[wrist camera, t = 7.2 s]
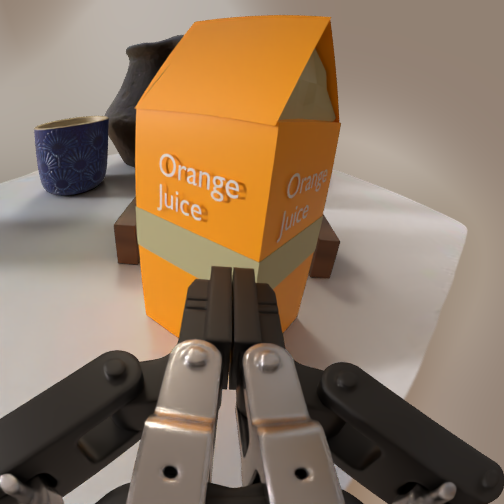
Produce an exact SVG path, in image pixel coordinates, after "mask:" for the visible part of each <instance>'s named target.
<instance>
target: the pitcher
mask: <svg viewBox="0 0 504 504" xmlns="http://www.w3.org/2000/svg"><path fill="white" fill-rule="evenodd" d="M183 36H184V35H177V36H174V37H171V38H169V39H166V40H163V41H159V42H155V43H141V44H137V45H133V46H129V47H128V48H127V49H126V54H127V55H128V57H129V60H130V63H129V68H128V72H127V74H126V77H125V79H124V82H123V84H122V86H121V89H120V91H119V92H118V94H117V96H116V97H115V99H114V101H113V102H112V104H111V105H110V107H109V108H108V110H107V111H106V114H105V116H106V117H109V126H108V135H109V137H110V139H111V140H112V142H113V143H114V145H115V147H116V149H117V150H118V152H119V154H120V156H121V158H122V159H123V161H124V162H125V163H126V164H127V165H130V166H134V167H135V137H136V109H135V107H136V105H137V104H138V102H139V100H140V99H141V97H142V95H143V94H144V92H145V91H146V89H147V88H148V86H149V84H150V83H151V81H152V80H153V78H154V77H155V75H156V74H157V72H158V71H159V69H160V68H161V66H162V65H163V64H164V62H165V61H166V59H167V58H168V57H169V55H170V54H171V52H172V51H173V50H174V48H175V47H176V46H177V44H178V43H179V42H180V40H181V39H182V38H183Z"/></svg>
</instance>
